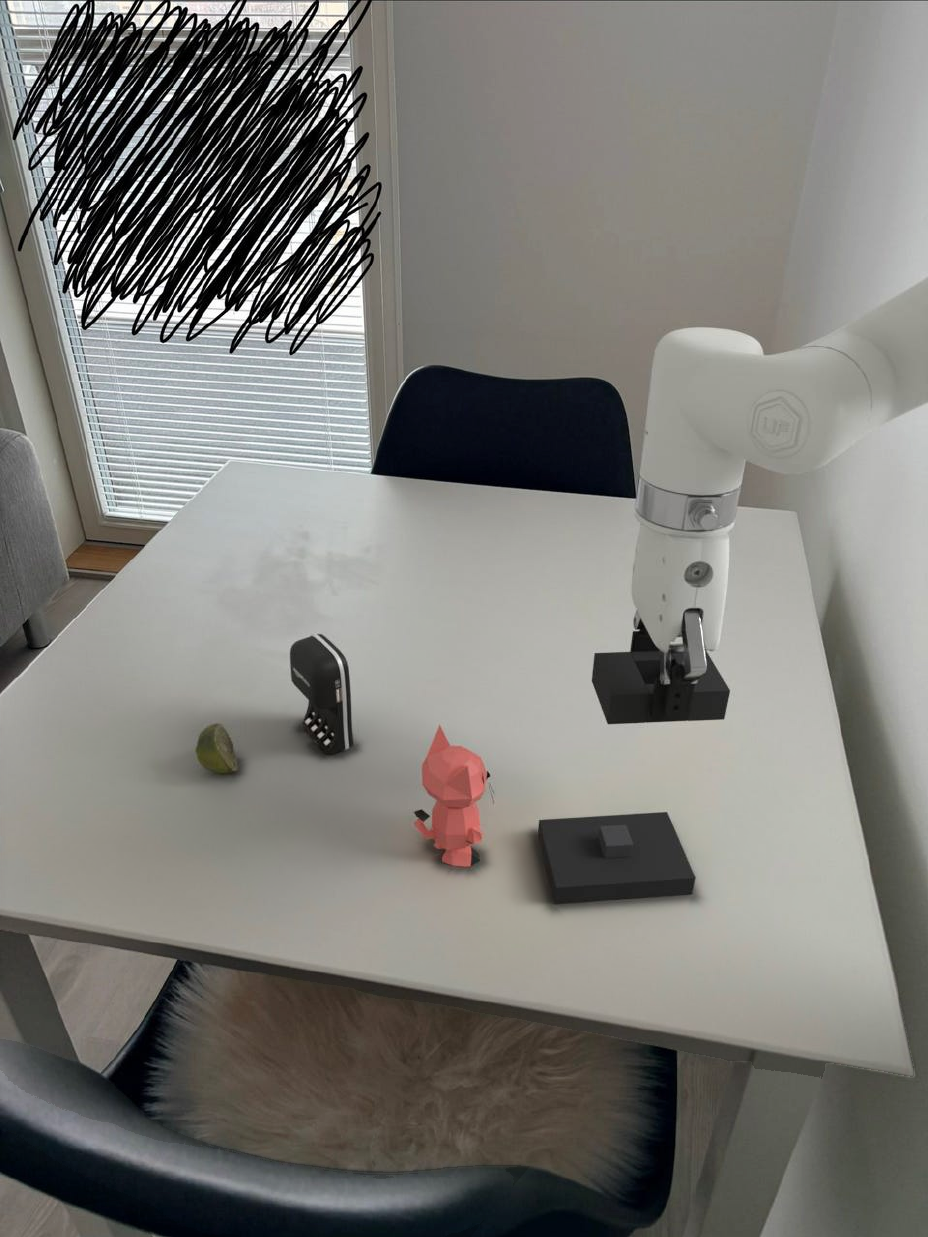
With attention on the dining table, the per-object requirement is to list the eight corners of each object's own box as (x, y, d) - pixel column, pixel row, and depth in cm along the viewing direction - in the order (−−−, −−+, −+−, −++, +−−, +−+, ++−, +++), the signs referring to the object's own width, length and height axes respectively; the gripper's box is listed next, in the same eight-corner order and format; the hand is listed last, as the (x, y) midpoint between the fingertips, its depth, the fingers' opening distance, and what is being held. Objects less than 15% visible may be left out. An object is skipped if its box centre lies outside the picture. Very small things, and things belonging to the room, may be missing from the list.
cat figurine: (503, 865, 77) (509, 759, 71) (431, 889, 75) (431, 781, 69) (470, 813, 83) (473, 711, 77) (402, 834, 80) (399, 730, 74)
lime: (227, 747, 91) (220, 708, 88) (254, 769, 88) (249, 729, 85) (188, 767, 88) (181, 728, 85) (216, 790, 85) (209, 750, 82)
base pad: (664, 827, 82) (669, 799, 80) (692, 894, 75) (698, 865, 73) (537, 835, 80) (539, 807, 79) (554, 904, 74) (557, 874, 72)
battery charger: (292, 727, 94) (282, 637, 88) (324, 715, 96) (316, 626, 90) (322, 762, 89) (314, 669, 83) (355, 749, 91) (350, 656, 85)
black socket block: (700, 676, 79) (705, 648, 78) (724, 719, 74) (730, 690, 72) (591, 681, 78) (594, 652, 77) (607, 724, 73) (611, 695, 71)
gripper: (779, 548, 59) (734, 755, 68) (698, 459, 74) (670, 639, 83) (670, 551, 59) (640, 760, 68) (611, 460, 74) (593, 641, 83)
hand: (657, 691), depth 75 cm, fingers closed on black socket block, 6 cm apart
